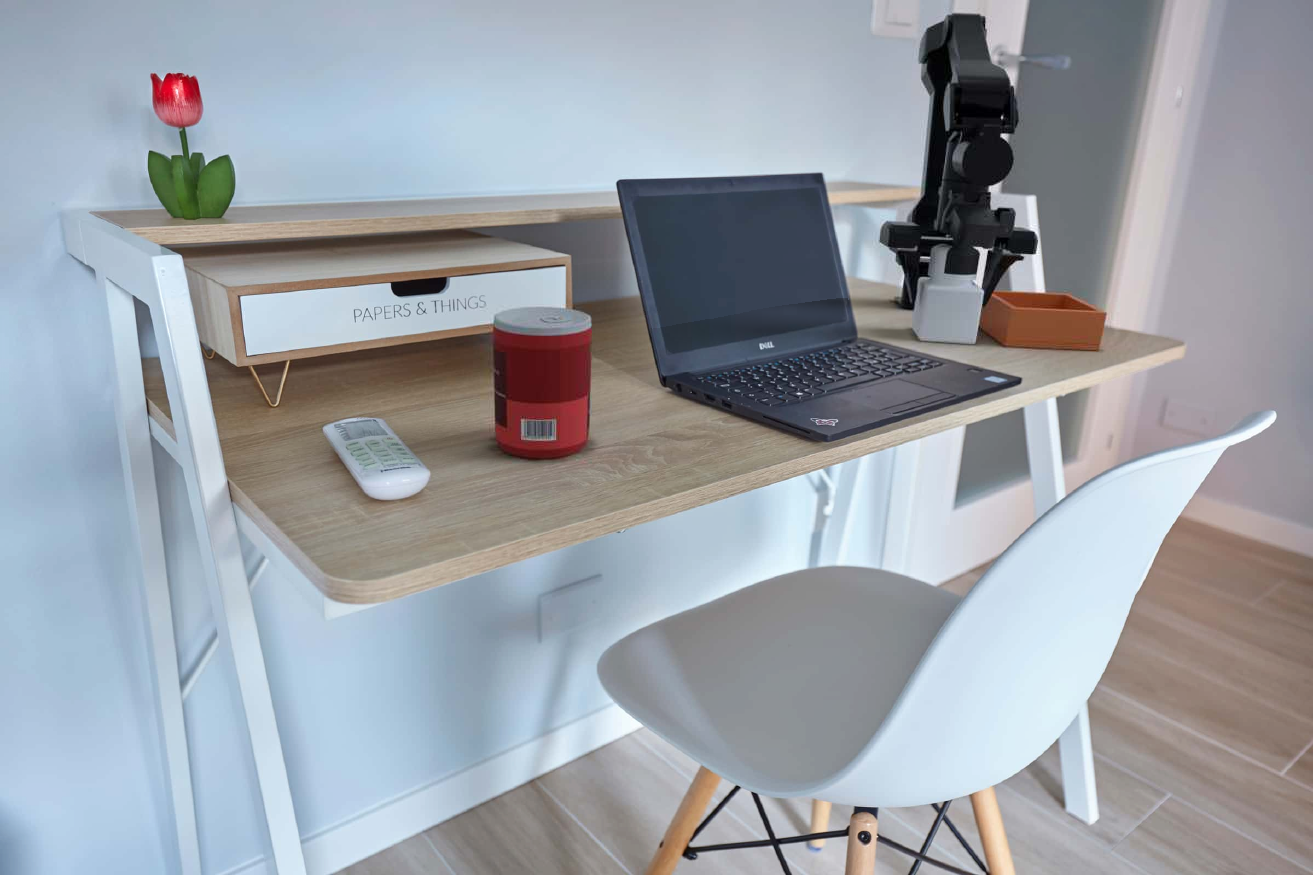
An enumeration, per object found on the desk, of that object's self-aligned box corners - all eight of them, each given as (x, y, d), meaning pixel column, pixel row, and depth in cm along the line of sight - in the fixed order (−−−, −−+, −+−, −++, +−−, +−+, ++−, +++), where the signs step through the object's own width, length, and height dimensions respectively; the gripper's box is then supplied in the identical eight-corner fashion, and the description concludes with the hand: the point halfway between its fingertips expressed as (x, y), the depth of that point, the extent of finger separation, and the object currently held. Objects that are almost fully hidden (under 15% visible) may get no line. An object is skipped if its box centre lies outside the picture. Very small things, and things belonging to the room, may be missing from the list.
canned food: (607, 446, 79) (611, 319, 75) (532, 468, 74) (531, 332, 70) (551, 422, 84) (552, 302, 80) (477, 441, 79) (473, 313, 75)
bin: (975, 325, 131) (981, 289, 129) (1061, 329, 131) (1068, 293, 129) (1005, 346, 119) (1011, 308, 117) (1099, 350, 119) (1107, 312, 118)
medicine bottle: (964, 332, 126) (978, 243, 122) (975, 345, 119) (991, 251, 115) (910, 328, 127) (923, 239, 122) (919, 341, 120) (933, 248, 116)
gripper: (907, 182, 109) (890, 313, 114) (1066, 190, 109) (1041, 321, 114) (886, 176, 119) (871, 296, 124) (1031, 183, 119) (1010, 303, 124)
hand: (947, 304), depth 121 cm, fingers open, 9 cm apart
